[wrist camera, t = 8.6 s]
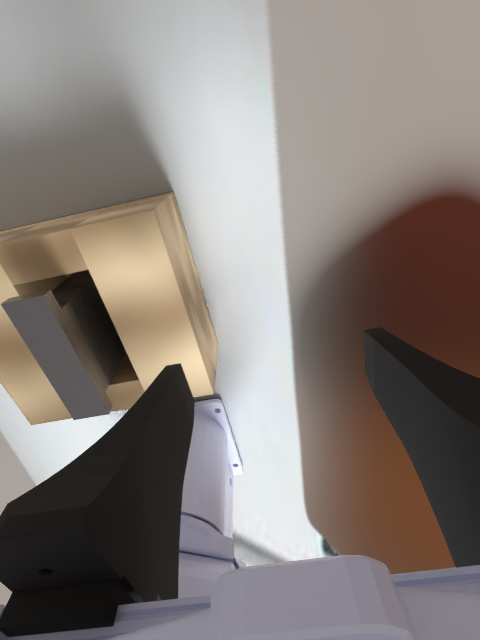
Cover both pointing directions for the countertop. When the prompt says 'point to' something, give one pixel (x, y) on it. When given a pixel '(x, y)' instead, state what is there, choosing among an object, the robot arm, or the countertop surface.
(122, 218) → the slotted wooden block
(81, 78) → the countertop surface
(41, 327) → the grey flat piece
